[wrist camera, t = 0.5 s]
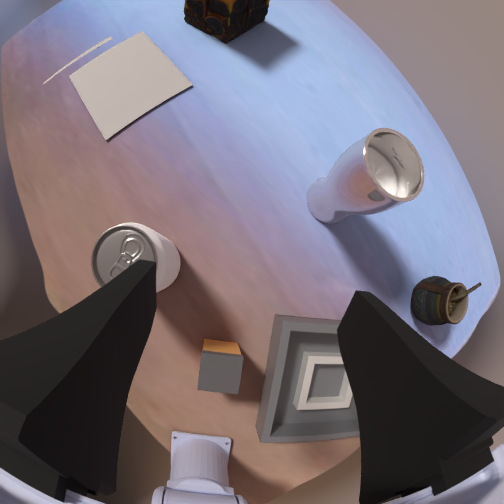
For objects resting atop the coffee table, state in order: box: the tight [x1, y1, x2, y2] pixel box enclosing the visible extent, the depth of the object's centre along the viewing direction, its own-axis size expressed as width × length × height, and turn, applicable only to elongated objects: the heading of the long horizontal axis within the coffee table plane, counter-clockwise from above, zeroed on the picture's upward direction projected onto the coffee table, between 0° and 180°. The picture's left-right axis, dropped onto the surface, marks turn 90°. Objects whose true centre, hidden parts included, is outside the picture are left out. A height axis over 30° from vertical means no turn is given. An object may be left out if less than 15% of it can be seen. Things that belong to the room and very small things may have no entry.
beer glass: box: [307, 128, 424, 224], centre depth 27 cm, size 7×7×15 cm
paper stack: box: [43, 32, 193, 140], centre depth 31 cm, size 23×25×1 cm
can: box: [91, 223, 181, 293], centre depth 25 cm, size 6×6×12 cm
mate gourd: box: [411, 276, 481, 325], centre depth 31 cm, size 7×8×10 cm
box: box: [256, 315, 360, 443], centre depth 32 cm, size 16×16×4 cm
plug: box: [198, 339, 244, 394], centre depth 29 cm, size 4×4×6 cm
